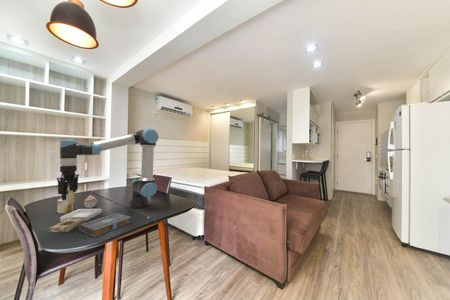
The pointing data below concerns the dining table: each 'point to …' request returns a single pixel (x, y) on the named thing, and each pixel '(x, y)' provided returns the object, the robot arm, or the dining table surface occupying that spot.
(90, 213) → the tray
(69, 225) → the block
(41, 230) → the dining table surface
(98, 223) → the book
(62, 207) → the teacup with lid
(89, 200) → the cupcake
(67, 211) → the lock pin
